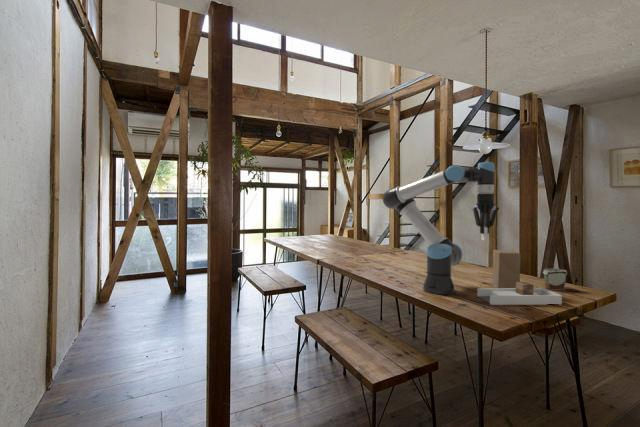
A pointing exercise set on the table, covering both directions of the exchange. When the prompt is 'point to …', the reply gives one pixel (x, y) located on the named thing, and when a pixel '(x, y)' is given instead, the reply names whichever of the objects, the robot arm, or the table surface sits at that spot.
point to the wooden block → (505, 268)
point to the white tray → (518, 296)
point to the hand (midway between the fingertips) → (484, 240)
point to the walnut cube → (524, 288)
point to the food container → (555, 279)
